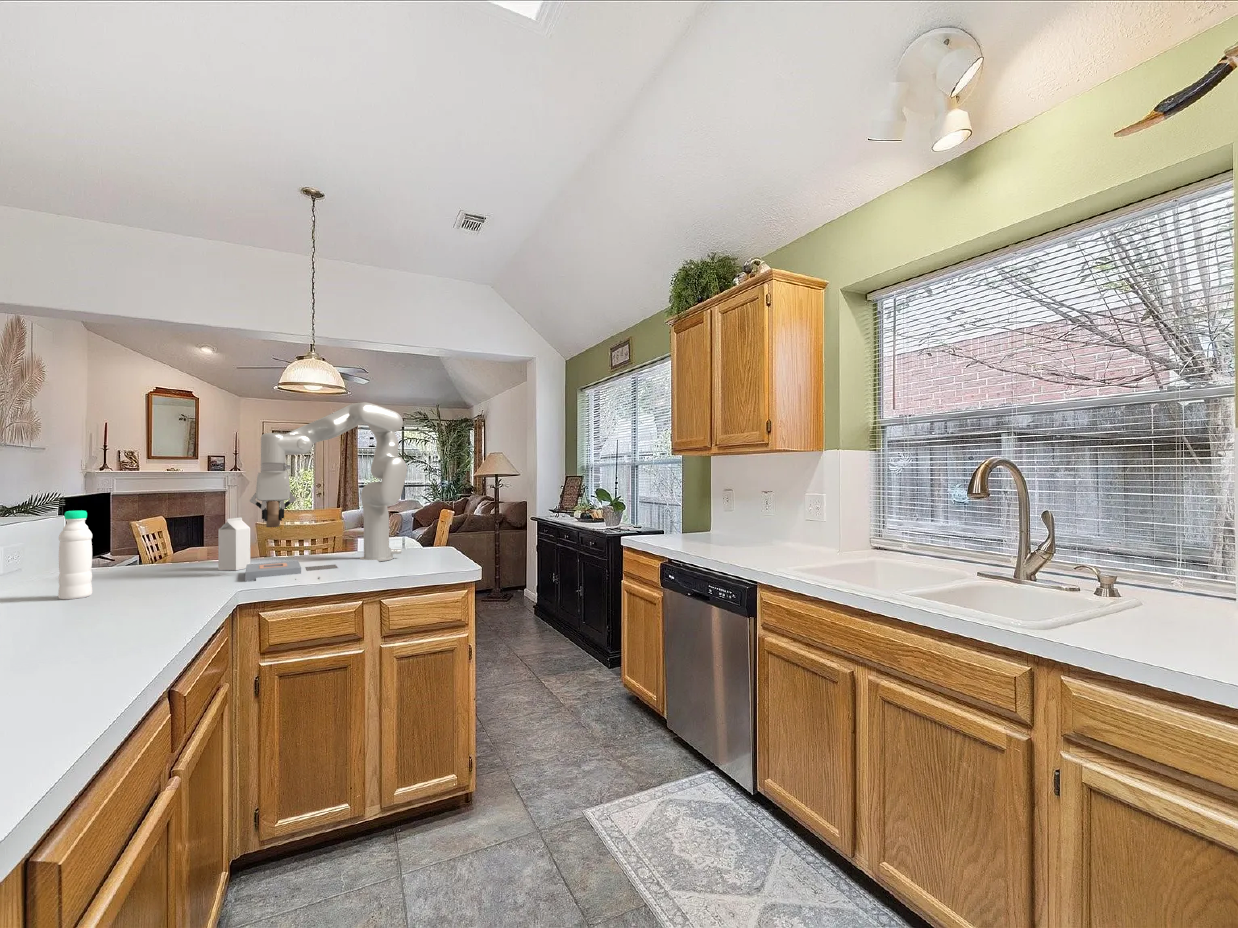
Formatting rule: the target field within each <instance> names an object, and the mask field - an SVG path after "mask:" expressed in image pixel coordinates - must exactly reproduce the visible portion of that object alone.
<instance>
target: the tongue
mask: <svg viewBox="0 0 1238 928" xmlns="http://www.w3.org/2000/svg"><path fill="white" fill-rule="evenodd" d="M304 567H305V570H306V571H307V572H311V571H321V570H332V569H335V570H336V569H339V567H338V566H337V564H326V565H314V566H304Z"/></svg>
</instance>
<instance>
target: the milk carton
mask: <svg viewBox="0 0 1238 928" xmlns="http://www.w3.org/2000/svg"><path fill="white" fill-rule="evenodd" d="M217 536H218V541H217V542H218V550H217V551H218V558H217V559H218V561H217V563H218V571H239V570H246V566H247V564H251V527H250V526H249V525H248V524H247V523H246V522H245V521H243V517H233V518H232V517H231V518H227V519H226V522H225V523H224V524H222V526H221V527H219V528H218V535H217Z"/></svg>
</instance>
